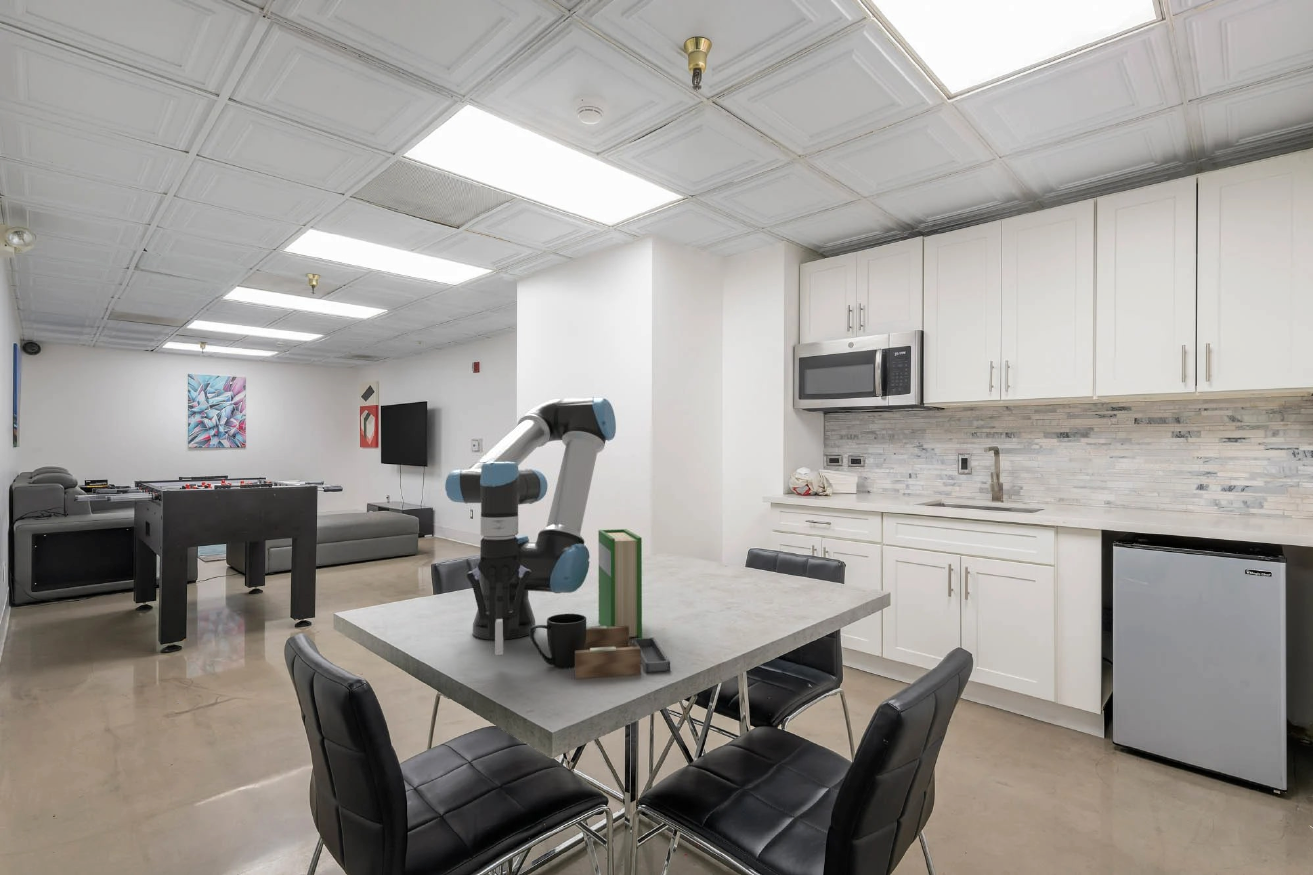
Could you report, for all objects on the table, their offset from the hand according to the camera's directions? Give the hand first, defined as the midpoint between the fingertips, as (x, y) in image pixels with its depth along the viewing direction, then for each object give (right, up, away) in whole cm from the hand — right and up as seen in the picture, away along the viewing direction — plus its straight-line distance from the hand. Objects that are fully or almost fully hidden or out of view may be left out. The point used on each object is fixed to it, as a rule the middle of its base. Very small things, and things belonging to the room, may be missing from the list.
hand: (499, 652), depth 127 cm
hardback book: (+23, -4, +28) cm, 36 cm away
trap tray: (+31, -3, +6) cm, 32 cm away
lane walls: (+21, -3, +4) cm, 22 cm away
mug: (+12, -4, +2) cm, 12 cm away
